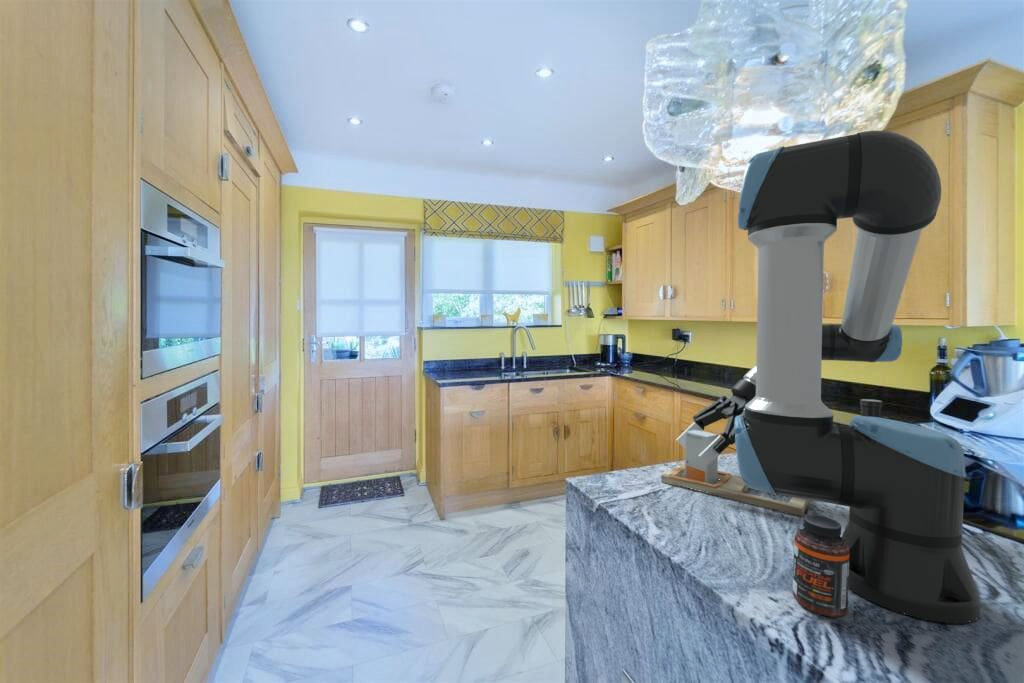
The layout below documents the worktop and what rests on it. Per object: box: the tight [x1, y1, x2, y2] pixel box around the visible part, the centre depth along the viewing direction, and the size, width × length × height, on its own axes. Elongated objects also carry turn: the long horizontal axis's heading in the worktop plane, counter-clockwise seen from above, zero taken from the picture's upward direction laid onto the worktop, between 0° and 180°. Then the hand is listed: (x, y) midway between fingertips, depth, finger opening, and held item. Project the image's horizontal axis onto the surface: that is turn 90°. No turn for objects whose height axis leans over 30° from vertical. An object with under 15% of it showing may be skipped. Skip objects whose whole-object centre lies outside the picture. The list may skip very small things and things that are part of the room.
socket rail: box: [660, 463, 811, 517], centre depth 96 cm, size 12×28×2 cm, turn 48°
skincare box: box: [684, 430, 719, 484], centre depth 101 cm, size 6×4×12 cm
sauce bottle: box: [859, 398, 884, 418], centre depth 100 cm, size 6×6×20 cm
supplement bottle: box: [792, 514, 850, 618], centre depth 56 cm, size 6×6×11 cm
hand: (690, 451), depth 101 cm, fingers open, 13 cm apart
